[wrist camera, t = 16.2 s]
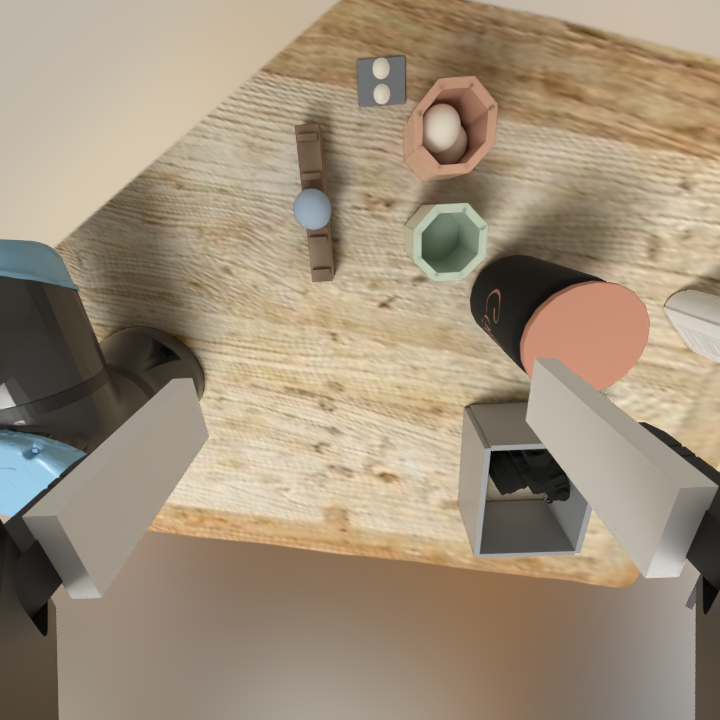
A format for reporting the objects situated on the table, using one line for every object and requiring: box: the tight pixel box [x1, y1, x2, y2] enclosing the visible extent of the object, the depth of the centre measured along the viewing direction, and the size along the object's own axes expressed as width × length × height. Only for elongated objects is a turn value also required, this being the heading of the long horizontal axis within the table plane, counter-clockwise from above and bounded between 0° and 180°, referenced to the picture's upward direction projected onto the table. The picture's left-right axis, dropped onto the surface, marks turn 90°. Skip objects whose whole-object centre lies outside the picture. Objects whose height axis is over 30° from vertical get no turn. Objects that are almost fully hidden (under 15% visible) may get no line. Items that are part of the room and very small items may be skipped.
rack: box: [295, 124, 335, 282], centre depth 41 cm, size 2×16×5 cm, turn 3°
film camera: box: [488, 449, 570, 504], centre depth 53 cm, size 15×10×9 cm, turn 32°
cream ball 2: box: [430, 126, 467, 165], centre depth 38 cm, size 4×4×4 cm
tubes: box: [357, 56, 498, 281], centre depth 37 cm, size 12×22×9 cm, turn 3°
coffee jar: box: [470, 255, 650, 391], centre depth 39 cm, size 11×11×18 cm
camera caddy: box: [458, 402, 592, 558], centre depth 53 cm, size 16×21×10 cm
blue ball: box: [294, 189, 332, 230], centre depth 37 cm, size 4×4×4 cm
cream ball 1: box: [422, 104, 461, 153], centre depth 34 cm, size 4×4×4 cm
